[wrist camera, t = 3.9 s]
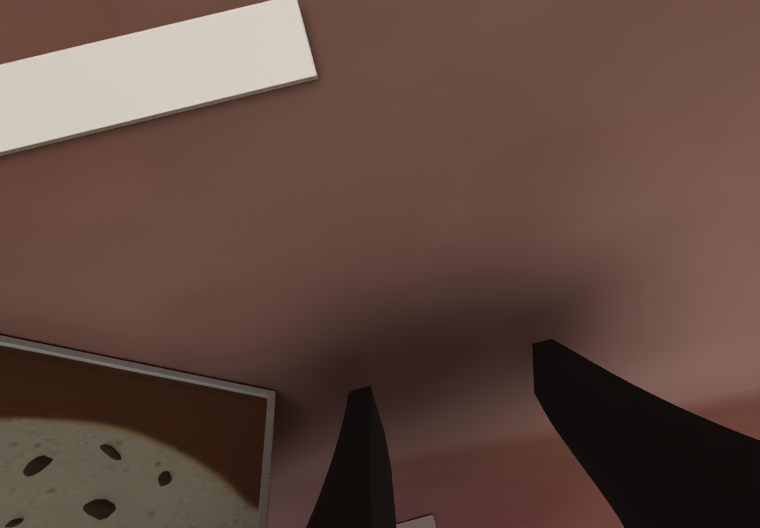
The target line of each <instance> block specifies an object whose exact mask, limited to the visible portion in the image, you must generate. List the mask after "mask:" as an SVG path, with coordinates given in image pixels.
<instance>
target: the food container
mask: <svg viewBox="0 0 760 528" xmlns="http://www.w3.org/2000/svg"><path fill="white" fill-rule="evenodd" d="M275 396H276V392H275V391H270V390H266V389H261V388H256V387H251V386H246V385H241V384H236V383H231V382H226V381H222V380H217V379H212V378H207V377H202V376H197V375H192V374H187V373H182V372H178V371H173V370H168V369H163V368H158V367H153V366H148V365H143V364H138V363H134V362H129V361H124V360H119V359H114V358H109V357H104V356H99V355H94V354H89V353H85V352H80V351H75V350H70V349H65V348H60V347H55V346H50V345H45V344H41V343H36V342H31V341H26V340H21V339H16V338H11V337H6V336H1V335H0V528H267V523H268V507H269V491H270V475H271V459H272V444H273V428H274V412H275Z"/></svg>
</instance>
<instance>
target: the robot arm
mask: <svg viewBox="0 0 760 528" xmlns="http://www.w3.org/2000/svg"><path fill="white" fill-rule="evenodd" d="M532 347H533V372H534V393H535V395H536V397H537V399H538V401H539V402H540V404H541V406H542V408H543V410H544V411H545V413H546V415H547V416H548V418H549V420H550V422H551V423H552V425H553V426H554V428H555V429H556V431H557V432H558V433H559V435H560V436H561V438H562V439H563V440H564V442H565V443H566V445H567V446H568V447H569V449H570V450H571V451H572V453H573V454H574V456H575V457H576V458H577V460H578V461H579V462H580V464H581V465H582V467H583V468H584V469H585V471H586V472H587V473H588V475H589V476H590V477H591V479H592V480H593V482H594V483H595V484H596V486H597V487H598V488H599V490H600V491H601V493H602V494H603V495H604V497H605V498H606V500H607V501H608V503H609V504H610V505H611V507H612V508H613V510H614V511H615V513H616V514H617V516H618V517H619V519H620V521H621V522H622V524H623V526H624V527H625V528H760V440H757V439H754V438H752V437H749V436H746V435H744V434H741V433H739V432H736V431H734V430H731V429H729V428H726V427H724V426H721V425H719V424H717V423H714V422H712V421H710V420H707V419H705V418H703V417H700V416H698V415H696V414H693V413H691V412H689V411H686V410H684V409H682V408H680V407H678V406H675V405H673V404H671V403H669V402H667V401H665V400H663V399H661V398H659V397H657V396H655V395H653V394H651V393H649V392H647V391H645V390H643V389H641V388H639V387H637V386H635V385H633V384H631V383H629V382H627V381H625V380H624V379H622V378H620V377H618V376H616V375H614V374H612V373H611V372H609V371H607V370H605V369H603V368H602V367H600V366H598V365H596V364H595V363H593V362H591V361H589V360H588V359H586V358H584V357H582V356H581V355H579V354H577V353H575V352H574V351H572V350H570V349H568V348H567V347H565V346H563V345H562V344H560V343H558V342H556V341H554V340H553V339H549V340H545V341H542V342H538V343H534V344H532ZM306 528H396V518H395V506H394V495H393V484H392V473H391V465H390V459H389V454H388V448H387V443H386V438H385V433H384V429H383V426H382V423H381V419H380V416H379V413H378V409H377V406H376V403H375V400H374V396H373V393H372V390H371V386H368V387H364V388H360V389H357V390H353V391H351V392H350V393H349V394H348V399H347V405H346V410H345V415H344V419H343V423H342V427H341V431H340V435H339V438H338V442H337V445H336V448H335V452H334V455H333V458H332V462H331V465H330V467H329V470H328V473H327V476H326V479H325V481H324V484H323V487H322V490H321V493H320V495H319V498H318V500H317V503H316V505H315V508H314V510H313V513H312V515H311V517H310V520H309V522H308V524H307V527H306Z"/></svg>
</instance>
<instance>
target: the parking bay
mask: <svg viewBox="0 0 760 528" xmlns="http://www.w3.org/2000/svg"><path fill="white" fill-rule="evenodd" d="M316 79H318V75H317V72H316V68H315V64H314V60H313V56H312V53H311V49H310V45H309V41H308V37H307V34H306V30H305V26H304V22H303V18H302V15H301V11H300V7H299V4H298V1H297V0H271V1H267V2H263V3H258V4H254V5H250V6H246V7H242V8H237V9H233V10H229V11H225V12H220V13H216V14H212V15H208V16H204V17H199V18H195V19H191V20H187V21H183V22H178V23H174V24H170V25H166V26H161V27H157V28H153V29H149V30H145V31H140V32H136V33H132V34H128V35H124V36H119V37H115V38H111V39H107V40H103V41H98V42H94V43H90V44H86V45H81V46H77V47H73V48H69V49H65V50H60V51H56V52H52V53H48V54H44V55H39V56H35V57H31V58H27V59H22V60H18V61H14V62H10V63H6V64H1V65H0V156H3V155H7V154H11V153H16V152H20V151H24V150H28V149H32V148H36V147H40V146H44V145H48V144H53V143H57V142H61V141H65V140H69V139H73V138H77V137H81V136H85V135H90V134H94V133H98V132H102V131H106V130H110V129H114V128H118V127H122V126H127V125H131V124H135V123H139V122H143V121H147V120H151V119H155V118H159V117H164V116H168V115H172V114H176V113H180V112H184V111H188V110H192V109H196V108H200V107H205V106H209V105H213V104H217V103H221V102H225V101H229V100H233V99H237V98H242V97H246V96H250V95H254V94H258V93H262V92H266V91H270V90H274V89H279V88H283V87H287V86H291V85H295V84H299V83H303V82H307V81H311V80H316ZM396 528H436V524H435V521H434V517H433V515H429V516H426V517H422V518H418V519H415V520H411V521H407V522H404V523H400V524H396Z"/></svg>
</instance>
